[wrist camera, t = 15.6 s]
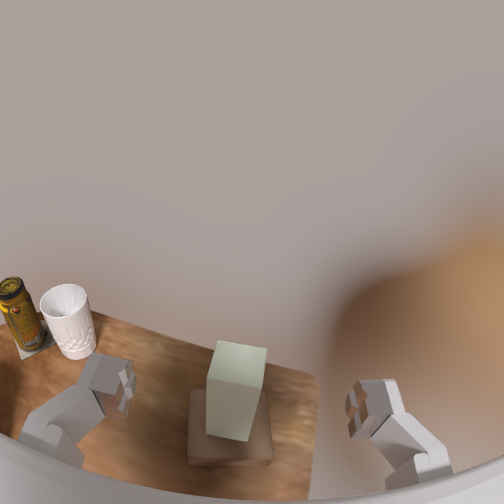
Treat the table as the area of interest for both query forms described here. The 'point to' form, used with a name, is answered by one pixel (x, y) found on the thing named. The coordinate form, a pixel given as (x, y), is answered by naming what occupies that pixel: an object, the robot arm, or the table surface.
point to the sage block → (234, 389)
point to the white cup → (69, 320)
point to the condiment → (23, 318)
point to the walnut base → (223, 449)
